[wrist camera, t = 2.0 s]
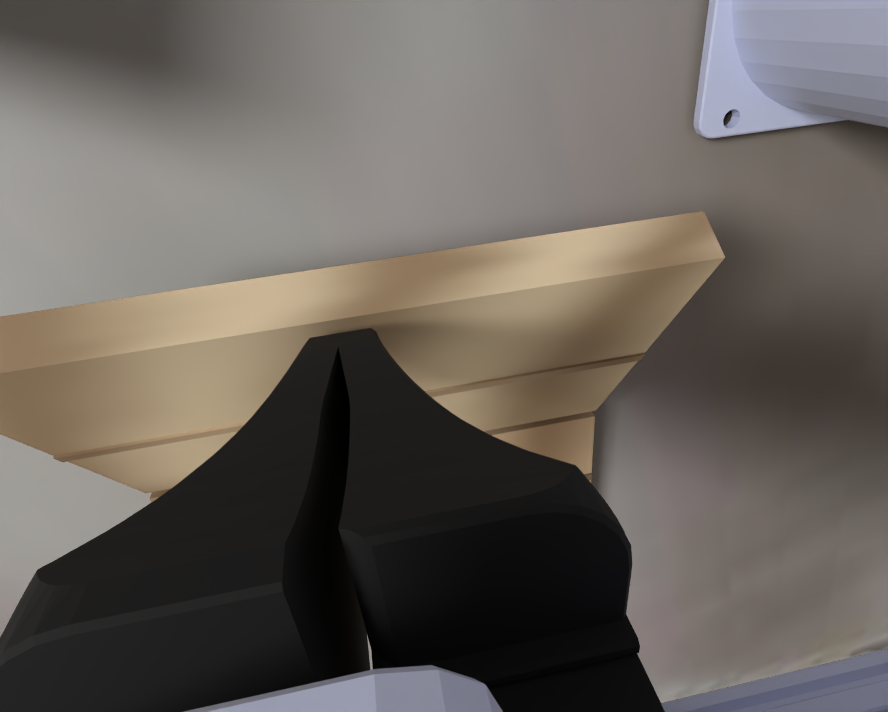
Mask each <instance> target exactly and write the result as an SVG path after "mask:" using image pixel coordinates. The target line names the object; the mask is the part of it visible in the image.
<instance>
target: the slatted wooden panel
mask: <svg viewBox="0 0 888 712" xmlns="http://www.w3.org/2000/svg"><path fill="white" fill-rule="evenodd" d="M724 258H725V256H724V254H723V251H722V249H721V247H720V245H719V243H718V241H717V238H716V236H715V234H714V232H713V230H712V228H711V226H710V223H709V221H708V219H707V217H706V215H705V213H704V211H701V212H694V213H687V214H681V215H674V216H667V217H661V218H654V219H647V220H641V221H634V222H628V223H621V224H614V225H608V226H601V227H594V228H588V229H581V230H574V231H568V232H561V233H554V234H548V235H541V236H534V237H528V238H521V239H514V240H508V241H501V242H494V243H488V244H481V245H475V246H468V247H461V248H455V249H448V250H441V251H435V252H428V253H421V254H415V255H408V256H401V257H395V258H388V259H381V260H375V261H368V262H361V263H355V264H348V265H342V266H335V267H328V268H322V269H315V270H308V271H302V272H295V273H288V274H282V275H275V276H268V277H262V278H255V279H248V280H242V281H235V282H228V283H222V284H215V285H209V286H202V287H195V288H189V289H182V290H175V291H169V292H162V293H155V294H149V295H142V296H135V297H129V298H122V299H115V300H109V301H102V302H95V303H89V304H82V305H76V306H69V307H62V308H56V309H49V310H42V311H36V312H29V313H22V314H16V315H9V316H2V317H0V434H1V435H3V436H6V437H8V438H11V439H13V440H16V441H18V442H21V443H23V444H26V445H28V446H31V447H33V448H36V449H38V450H41V451H43V452H46V453H48V454H51V455H53V456H54V459H56V460H59V461H61V462H67V461H68V462H70V463H73V464H75V465H78V466H80V467H83V468H85V469H88V470H90V471H93V472H95V473H98V474H100V475H102V476H105V477H107V478H110V479H112V480H115V481H117V482H120V483H122V484H125V485H127V486H130V487H132V488H135V489H137V490H140V491H142V492H145V493H150V492H156V491H161V490H166V489H171V488H173V487H174V486H175V485H177V484H178V483H179V482H180V481H182V480H183V479H184V478H185V477H187V476H188V475H189V474H190V473H192V472H193V471H194V470H195V469H196V468H198V467H199V466H200V465H201V464H203V463H204V462H205V461H206V460H208V459H209V458H210V457H211V456H213V455H214V454H215V453H216V452H217V451H218V450H219V449H220V448H221V447H222V446H223V445H224V444H226V443H227V442H228V441H229V440H230V439H231V438H232V437H233V436H234V435H235V434H236V433H237V432H238V431H239V430H240V429H241V428H242V427H243V426H244V425H245V424H246V423H247V421H248V420H249V419H250V418H251V417H252V416H253V415H254V414H255V412H256V411H257V410H258V409H259V407H260V406H261V405H262V404H263V403H264V401H265V400H266V399H267V398H268V397H269V395H270V394H271V393H272V391H273V390H274V388H275V387H276V386H277V384H278V383H279V382H280V380H281V379H282V377H283V376H284V375H285V373H286V372H287V370H288V369H289V367H290V366H291V364H292V363H293V361H294V360H295V358H296V357H297V355H298V354H299V352H300V351H301V349H302V347H303V346H304V345H305V343H306V342H307V341H308V339H309V338H311V337H318V336H324V335H330V334H336V333H342V332H348V331H355V330H361V329H367V328H372V329H373V330H374V331H376V332H377V334H378V337H379V339H380V341H381V342H382V344H383V345H384V347H385V348H386V350H387V351H388V353H389V354H390V355H391V357H392V358H393V359H394V360H395V361H396V363H397V364H398V365H399V366H400V367H401V368H402V369H403V370H404V372H405V373H406V374H407V375H408V376H409V377H410V378H411V379H412V380H413V381H414V382H415V383H416V384H417V385H418V386H419V387H420V388H422V389H423V390H424V391H425V392H426V393H427V394H428V395H429V396H431V397H432V398H433V399H434V400H435V401H437V402H438V403H439V404H440V405H442V406H443V407H445V408H446V409H447V410H449V411H450V412H451V413H453V414H454V415H456V416H457V417H459V418H460V419H462V420H464V421H465V422H467V423H469V424H471V425H473V426H474V427H476V428H478V429H480V430H482V431H488V430H493V429H499V428H504V427H509V426H515V425H520V424H526V423H531V422H537V421H542V420H548V419H553V418H558V417H564V416H569V415H575V414H580V413H586V412H591V411H596V410H597V409H598V408H599V406H600V405H601V404H602V403H603V402H604V400H605V399H606V398H607V397H608V396H609V395H610V393H611V392H612V391H613V390H614V389H615V387H616V386H617V385H618V384H619V383H620V381H621V380H622V379H623V378H624V377H625V376H626V374H627V373H628V372H629V371H630V370H631V368H632V367H633V366H634V365H635V364H636V363H637V361H641V360H642V359H643V357H644V356H645V355H646V354H645V352H646V351H647V350H648V348H649V347H650V346H651V345H652V344H653V342H654V341H655V340H656V339H657V338H658V336H659V335H660V334H661V333H662V332H663V331H664V329H665V328H666V327H667V326H668V325H669V323H670V322H671V321H672V320H673V319H674V318H675V316H676V315H677V314H678V313H679V312H680V310H681V309H682V308H683V307H684V306H685V305H686V303H687V302H688V301H689V300H690V299H691V297H692V296H693V295H694V294H695V293H696V292H697V290H698V289H699V288H700V287H701V286H702V284H703V283H704V282H705V281H706V280H707V278H708V277H709V276H710V275H711V274H712V273H713V271H714V270H715V269H716V268H717V267H718V265H719V264H720V263H721V262H722V261H723V260H724Z"/></svg>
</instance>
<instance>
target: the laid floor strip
mask: <svg viewBox="0 0 888 712" xmlns="http://www.w3.org/2000/svg"><path fill="white" fill-rule="evenodd" d="M594 424H595V416H594V414H593V413H592V411H591V412H586V413H580V414H575V415H569V416H564V417H558V418H553V419H548V420H542V421H537V422H531V423H526V424H520V425H515V426H509V427H504V428H499V429H493V430H488V431H484V432H486V433H487V434H490V435H492V436H494V437H496V438H498V439H500V440H503V441H505V442H508V443H510V444H512V445H515V446H517V447H520V448H522V449H525V450H528V451H530V452H534V453H537V454H540V455H544V456H547V457H550V458H554V459H557V460H560V461H563V462H567V463H570V464H573V465H576V466H577V467H578V468H579V469H580V470H581V471H582V473H583V474H584V475H585V476H586V477H587V479H588V480H589V481H590V482H591V480H592V456H593V440H594ZM169 490H170V489H166V490H161V491H156V492H152V494H151V497H150V500H151V502H153V501H154V500H156V499H157V498H159V497H160V496H161V495H163V494H164V493H166V492H167V491H169Z"/></svg>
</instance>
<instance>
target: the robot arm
mask: <svg viewBox="0 0 888 712" xmlns="http://www.w3.org/2000/svg"><path fill="white" fill-rule="evenodd" d="M730 110H731V111H732V117H731V120H730V121H729V123H728V124H727V125H724V124H723V119H724V117H725V115H726V114H727V112H728V111H730ZM843 120H852V121H857V122H862V123H867V124H872V125H877V126H882V127H887V128H888V0H709V8H708V15H707V23H706V31H705V38H704V46H703V54H702V61H701V69H700V77H699V84H698V92H697V100H696V107H695V115H694V129H695V131H696V133H697V134H699V135H700V136H702V137H705V138H719V137H727V136H734V135H741V134H749V133H756V132H763V131H770V130H778V129H785V128H792V127H800V126H807V125H814V124H821V123H829V122H836V121H843ZM631 570H632V553H631V544H630V543H629V541H628V539H627V537H626V535H625V533H624V530H623V528H622V527H621V525H620V523H619V521H618V519H617V518H616V516H615V515H614V513H613V511H612V510H611V508H610V507H609V506H608V504H607V503H606V502H605V500H604V499H603V498H602V496H601V495H600V494H599V492H598V491H597V490H596V489H595V487H594V486H593V485H592V484H591V482H590V481H589V480H588V479H587V477H586V476H585V475H584V474H583V473H582V471H581V470H580V469H579V468H578V467H577V466H576V465H573V464H570V463H567V462H563V461H560V460H557V459H554V458H550V457H547V456H544V455H540V454H537V453H534V452H530V451H528V450H525V449H522V448H520V447H517V446H515V445H512V444H510V443H508V442H505V441H503V440H500V439H498V438H496V437H494V436H492V435H490V434H487V433H486V432H484V431H482V430H480V429H478V428H476V427H474V426H473V425H471V424H469V423H467V422H465V421H464V420H462V419H460V418H459V417H457V416H456V415H454V414H453V413H451V412H450V411H449V410H447V409H446V408H445V407H443V406H442V405H440V404H439V403H438V402H437V401H435V400H434V399H433V398H432V397H431V396H429V395H428V394H427V393H426V392H425V391H424V390H423V389H422V388H420V387H419V386H418V385H417V384H416V383H415V382H414V381H413V380H412V379H411V378H410V377H409V376H408V375H407V374H406V373H405V372H404V370H403V369H402V368H401V367H400V366H399V365H398V364H397V363H396V361H395V360H394V359H393V358H392V357H391V355H390V354H389V353H388V351H387V350H386V348H385V347H384V345H383V344H382V342H381V341H380V339H379V337H378V334H377V332H376V331H374V330H373V329H372V328H367V329H361V330H355V331H348V332H342V333H336V334H330V335H324V336H318V337H311V338H309V339H308V341H307V342H306V343H305V345H304V346H303V347H302V349H301V351H300V352H299V354H298V355H297V357H296V358H295V360H294V361H293V363H292V364H291V366H290V367H289V369H288V370H287V372H286V373H285V375H284V376H283V377H282V379H281V380H280V382H279V383H278V384H277V386H276V387H275V388H274V390H273V391H272V393H271V394H270V395H269V397H268V398H267V399H266V400H265V401H264V403H263V404H262V405H261V406H260V407H259V409H258V410H257V411H256V412H255V414H254V415H253V416H252V417H251V418H250V419H249V420H248V421H247V423H246V424H245V425H244V426H243V427H242V428H241V429H240V430H239V431H238V432H237V433H236V434H235V435H234V436H233V437H232V438H231V439H230V440H229V441H228V442H227V443H226V444H224V445H223V446H222V447H221V448H220V449H219V450H218V451H217V452H216V453H215V454H214V455H213V456H211V457H210V458H209V459H208V460H206V461H205V462H204V463H203V464H201V465H200V466H199V467H198V468H196V469H195V470H194V471H193V472H192V473H190V474H189V475H188V476H187V477H185V478H184V479H183V480H182V481H180V482H179V483H178V484H177V485H175V486H174V487H173V488H171V489H170V490H169V491H167V492H166V493H164V494H163V495H161V496H160V497H159V498H157V499H156V500H154V501H153V502H152V503H150V504H149V505H147V506H146V507H144V508H143V509H141V510H140V511H138V512H136V513H135V514H133V515H132V516H130V517H129V518H127V519H126V520H124V521H123V522H121V523H119V524H118V525H116V526H114V527H113V528H111V529H110V530H108V531H106V532H105V533H103V534H101V535H99V536H97V537H96V538H94V539H92V540H90V541H89V542H87V543H85V544H83V545H81V546H80V547H78V548H76V549H74V550H73V551H71V552H69V553H67V554H65V555H64V556H62V557H60V558H58V559H57V560H55V561H53V562H51V563H49V564H47V565H45V566H43V567H42V568H40V569H38V570H37V571H36V573H35V575H34V577H33V578H32V580H31V582H30V583H29V585H28V587H27V589H26V590H25V592H24V594H23V596H22V598H21V599H20V601H19V603H18V605H17V607H16V609H15V611H14V613H13V614H12V616H11V618H10V620H9V622H8V624H7V626H6V628H5V630H4V632H3V634H2V635H1V637H0V712H888V649H884V650H880V651H876V652H872V653H868V654H863V655H859V656H855V657H851V658H847V659H843V660H838V661H834V662H830V663H826V664H822V665H818V666H814V667H809V668H805V669H801V670H797V671H793V672H789V673H784V674H780V675H776V676H772V677H768V678H764V679H760V680H755V681H751V682H747V683H743V684H739V685H735V686H730V687H726V688H722V689H718V690H714V691H710V692H706V693H701V694H697V695H693V696H689V697H685V698H681V699H676V700H672V701H668V702H664V703H661V702H660V700H659V698H658V696H657V694H656V692H655V690H654V688H653V686H652V684H651V682H650V680H649V678H648V676H647V674H646V671H645V669H644V667H643V665H642V663H641V661H640V659H639V657H638V655H637V653H639V649H640V645H639V641H638V637H637V635H636V633H635V631H634V629H633V627H632V625H631V623H630V621H629V619H628V617H627V615H626V609H627V601H628V593H629V586H630V578H631ZM367 635H368V639H369V642H370V646H371V650H372V664H373V670H370V662H369V651H368V641H367Z"/></svg>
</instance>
